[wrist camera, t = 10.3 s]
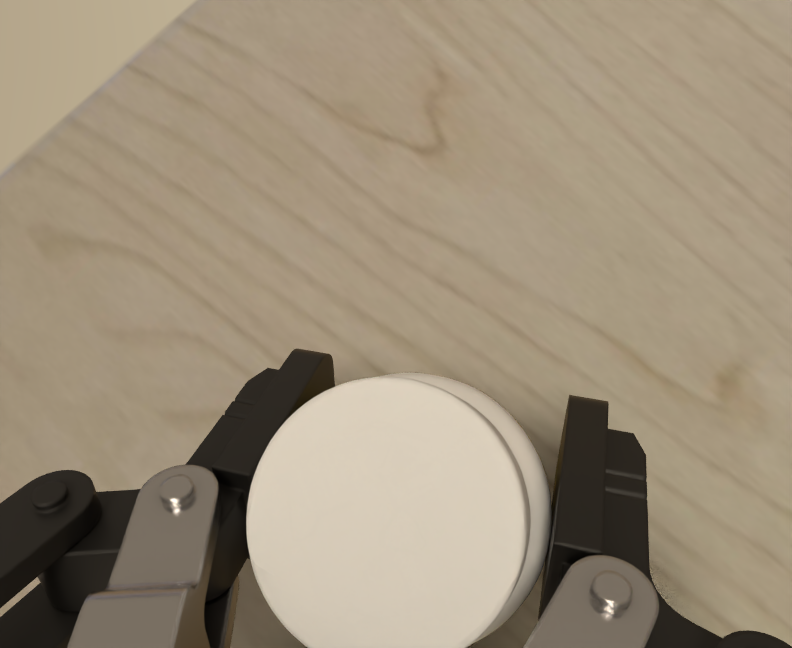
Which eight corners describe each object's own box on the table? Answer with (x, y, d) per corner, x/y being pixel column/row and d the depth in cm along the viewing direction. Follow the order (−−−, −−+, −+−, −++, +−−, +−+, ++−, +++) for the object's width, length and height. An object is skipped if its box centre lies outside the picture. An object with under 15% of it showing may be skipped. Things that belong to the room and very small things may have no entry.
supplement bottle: (333, 545, 18) (162, 610, 10) (398, 376, 18) (288, 303, 10) (509, 625, 16) (483, 777, 8) (572, 441, 17) (606, 415, 9)
